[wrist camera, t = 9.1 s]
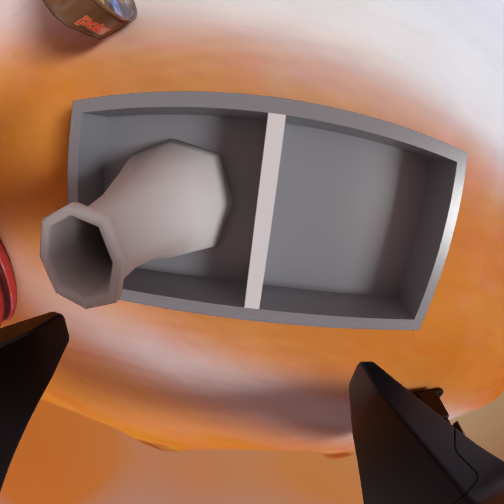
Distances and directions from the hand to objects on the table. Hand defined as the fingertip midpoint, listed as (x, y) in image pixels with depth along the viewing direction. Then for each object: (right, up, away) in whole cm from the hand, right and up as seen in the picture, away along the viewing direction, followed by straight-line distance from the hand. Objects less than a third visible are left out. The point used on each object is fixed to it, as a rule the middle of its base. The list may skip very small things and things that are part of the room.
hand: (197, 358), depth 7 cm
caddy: (+2, +6, +10) cm, 12 cm away
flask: (-3, +6, +9) cm, 11 cm away
